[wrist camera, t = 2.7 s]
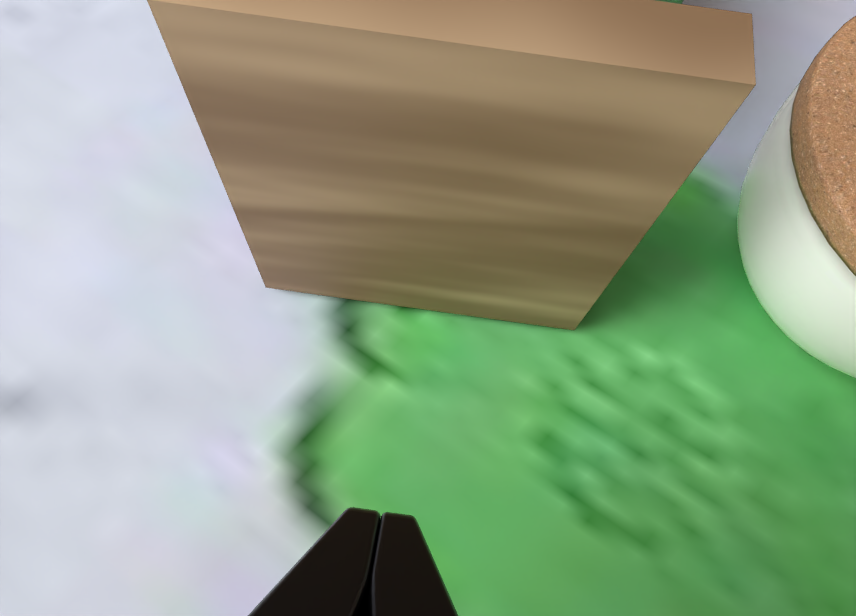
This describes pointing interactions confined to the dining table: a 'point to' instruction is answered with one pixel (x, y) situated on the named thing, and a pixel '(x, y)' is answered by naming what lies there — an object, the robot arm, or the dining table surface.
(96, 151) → the dining table surface
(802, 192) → the lidded jar
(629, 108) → the wooden slab
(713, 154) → the dining table surface
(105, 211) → the dining table surface
